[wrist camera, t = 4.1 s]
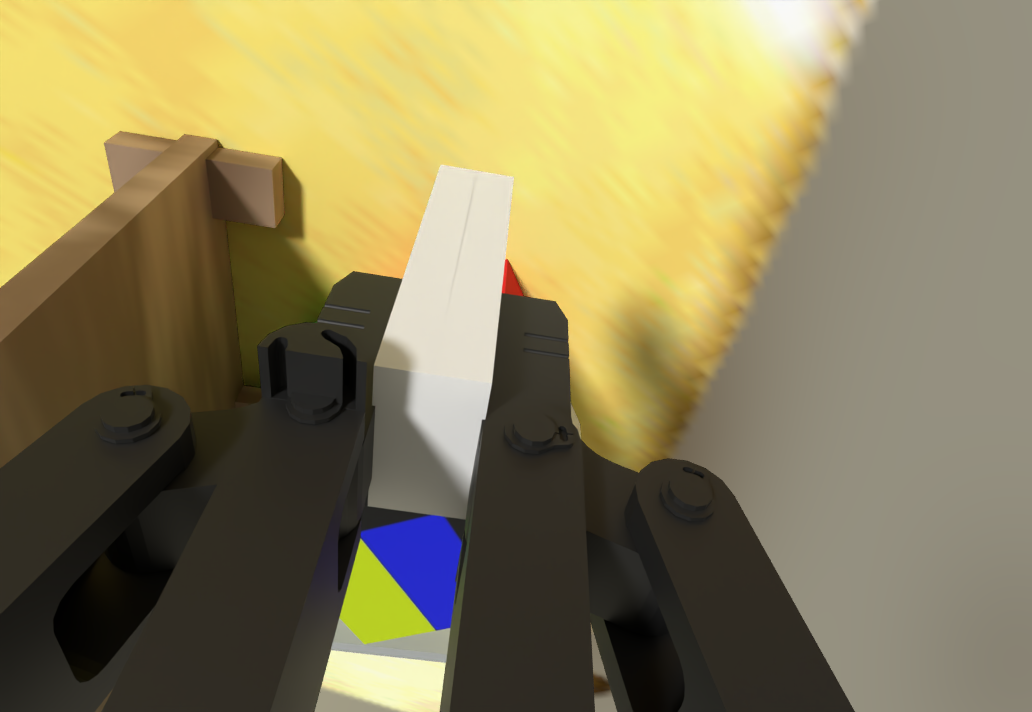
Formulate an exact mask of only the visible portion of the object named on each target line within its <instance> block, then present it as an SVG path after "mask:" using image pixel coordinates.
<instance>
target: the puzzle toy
mask: <svg viewBox="0 0 1032 712" xmlns="http://www.w3.org/2000/svg"><path fill="white" fill-rule="evenodd" d="M502 293H506V294H512V295H518V296H524V295H523V293H522V291H521V289H520V286H519V284H518V282H517V279H516V277H515V275H514V273H513V270H512V268H511V266H510V264H509V261H508V259H506V260H505V265H504V275H503V284H502ZM316 322H317V321H316ZM316 322H313V323H316ZM571 418H572V423H573V425H574V426H575V427H576V428H577V429H578V432H579V436H580V439H581V427H580V422H579V420H578V418H577V415H576V413H575V411H574V409H573V406H572V404H571ZM465 521H466V520H465V519H458V518H451V517H443V516H436V515H429V514H421V513H414V512H407V511H400V510H392V509H385V508H378V507H370V506H368V494H367V498H366V501H365V505H364V508H363V512H362V516H361V539H360V542H359V546H358V550H357V554H356V557H355V561H354V565H353V569H352V572H351V576H350V580H349V584H348V587H347V591H346V595H345V599H344V602H343V606H342V610H341V614H340V617H339V618H340V619H341V620H342V621H343V622H344V623H345V624H346V626H347V627H348V628H349V629H350V630H351V631H352V632H353V633H354V634H355V635H356V636H357V637H358V638H359V639H360V640H361V641H362V642H363V643H364V644H369V643H374V642H380V641H385V640H390V639H395V638H401V637H406V636H411V635H416V634H421V633H427V632H432V631H437V630H442V629H448V628H450V627H451V620H452V612H453V604H454V596H455V589H456V582H455V577H456V572H457V566H458V561H459V556H460V550H461V545H462V539H463V534H464V528H465Z"/></svg>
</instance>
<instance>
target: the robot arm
mask: <svg viewBox="0 0 1032 712" xmlns="http://www.w3.org/2000/svg"><path fill="white" fill-rule="evenodd" d="M513 180H514V177H511V176H505V175H499V174H493V173H487V172H482V171H476V170H470V169H464V168H458V167H452V166H447V165H440V168H439V171H438V174H437V177H436V180H435V183H434V186H433V189H432V192H431V195H430V198H429V201H428V204H427V207H426V210H425V213H424V216H423V219H422V222H421V225H420V228H419V231H418V234H417V237H416V240H415V243H414V246H413V249H412V252H411V255H410V258H409V261H408V264H407V267H406V270H405V273H404V276H403V279H399V278H393V277H386V276H380V275H374V274H368V273H361V272H355V271H353V272H352V273H350V274H349V275H348V276H346V277H345V278H343V279H342V280H340V281H339V282H338V283H336V284H335V285H334V286H333V288H332V290H331V292H330V294H329V296H328V298H327V300H326V302H325V307H323V309H322V311H321V313H320V315H319V317H318V321H317V322H316V323H307V322H305V323H300V324H295V325H290V326H285V327H283V328H281V329H279V330H277V331H275V332H272V333H270V334H268V335H267V336H266V337H265V338H264V340H263V341H262V342H261V343H260V344H259V345H258V346H257V348H258V360H259V371H260V382H261V393H262V398H261V400H260V401H259V402H257V403H254V404H251V405H248V406H245V407H239V408H233V409H226V410H215V411H203V412H191V409H190V407H189V406H188V404H187V403H186V401H185V399H184V398H183V396H181V395H179V394H177V393H175V392H173V391H172V390H170V389H168V388H164V387H158V386H152V385H135V386H123V387H120V388H116V389H113V390H110V391H106V392H103V393H100V394H98V395H97V396H95V397H93V398H92V399H90V400H88V401H86V402H85V403H83V404H81V405H80V406H79V407H77V408H76V409H75V410H74V411H72V412H71V413H70V414H69V415H67V416H66V417H65V418H64V419H62V420H61V421H60V422H58V423H57V424H56V425H55V426H53V427H52V428H51V429H50V430H48V431H47V432H46V433H45V434H43V435H42V436H41V437H39V438H38V439H37V440H36V441H34V442H33V443H32V444H31V445H29V446H28V447H27V448H26V449H24V450H23V451H22V452H20V453H19V454H18V455H17V456H15V457H14V458H13V459H12V460H10V461H9V462H8V463H6V464H5V465H4V466H3V467H1V468H0V712H95V711H96V710H97V708H98V707H99V706H100V705H101V703H102V702H103V701H104V699H105V698H106V697H107V696H108V694H109V693H110V692H111V691H112V692H111V694H110V696H109V698H108V700H107V702H106V703H105V705H104V707H103V709H102V711H101V712H314V711H315V707H316V703H317V700H318V696H319V692H320V689H321V685H322V681H323V677H324V674H325V670H326V666H327V662H328V659H329V655H330V651H331V647H332V644H333V640H334V636H335V632H336V629H337V625H338V621H339V617H340V614H341V610H342V606H343V602H344V599H345V595H346V591H347V587H348V584H349V580H350V576H351V572H352V569H353V565H354V561H355V557H356V554H357V550H358V546H359V542H360V539H361V516H362V512H363V508H364V505H365V501H366V498H367V494H368V506H370V507H378V508H385V509H392V510H400V511H407V512H414V513H421V514H429V515H436V516H443V517H451V518H458V519H465V520H466V521H465V528H464V534H463V539H462V545H461V550H460V556H459V561H458V566H457V572H456V577H455V582H456V589H455V596H454V604H453V612H452V620H451V627H450V635H449V643H448V651H447V659H446V666H445V674H444V682H443V690H442V697H441V705H440V712H595V706H594V705H595V704H594V684H593V663H592V644H591V625H592V628H593V632H594V635H595V638H596V642H597V645H598V648H599V652H600V655H601V659H602V662H603V665H604V669H605V672H606V675H607V679H608V682H609V685H610V689H611V692H612V695H613V698H614V702H615V705H616V709H617V712H855V711H854V709H853V708H852V706H851V704H850V702H849V700H848V699H847V697H846V695H845V693H844V692H843V690H842V688H841V686H840V685H839V683H838V681H837V679H836V677H835V675H834V674H833V672H832V670H831V668H830V666H829V665H828V663H827V661H826V659H825V658H824V656H823V654H822V652H821V650H820V649H819V647H818V645H817V643H816V641H815V640H814V638H813V636H812V634H811V633H810V631H809V629H808V627H807V625H806V623H805V622H804V620H803V618H802V616H801V615H800V613H799V611H798V609H797V607H796V605H795V604H794V602H793V600H792V598H791V596H790V595H789V593H788V591H787V589H786V588H785V586H784V584H783V582H782V581H781V579H780V577H779V575H778V573H777V572H776V570H775V568H774V566H773V564H772V563H771V561H770V559H769V557H768V555H767V554H766V552H765V550H764V548H763V546H762V545H761V543H760V541H759V539H758V537H757V536H756V534H755V532H754V530H753V528H752V527H751V525H750V523H749V521H748V519H747V518H746V516H745V514H744V512H743V510H742V509H741V507H740V505H739V503H738V501H737V500H736V498H735V496H734V495H733V494H732V492H731V491H730V490H729V488H728V487H727V486H726V485H725V483H724V482H723V481H722V480H721V479H720V478H718V477H717V476H716V475H714V474H713V473H711V472H710V471H708V470H707V469H706V468H704V467H701V466H698V465H696V464H693V463H691V462H689V461H685V460H677V459H663V460H659V461H654V462H651V463H650V464H648V465H647V466H646V467H645V468H643V469H642V470H641V471H640V473H637V472H635V471H632V470H630V469H627V468H625V467H622V466H620V465H618V464H615V463H613V462H611V461H609V460H607V459H605V458H603V457H601V456H599V455H598V454H596V453H595V452H594V451H592V450H591V449H590V448H588V447H587V446H586V444H585V443H584V442H583V441H582V440H581V439H580V436H579V432H578V429H577V428H576V427H575V426H574V425H573V423H572V418H571V396H570V369H569V359H568V358H569V343H568V320H567V318H566V317H565V315H564V314H563V312H562V311H561V309H560V308H559V306H558V305H557V303H556V302H555V301H550V300H543V299H537V298H531V297H525V296H518V295H512V294H506V293H502V284H503V275H504V265H505V256H506V246H507V237H508V228H509V218H510V209H511V199H512V190H513ZM112 689H113V690H112Z"/></svg>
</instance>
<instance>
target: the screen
mask: <svg viewBox="0 0 1032 712" xmlns="http://www.w3.org/2000/svg"><path fill="white" fill-rule="evenodd" d="M104 145H105V150H106V155H107V159H108V164H109V169H110V174H111V178H112V183H113V188H114V192H115V193H113V194H112V195H111V196H110V197H109V198H107V199H106V200H105V201H104V202H103V203H101V204H100V205H99V206H98V207H97V208H95V209H94V210H93V211H92V212H91V213H89V214H88V215H87V216H86V217H85V218H83V219H82V220H81V221H80V222H79V223H77V224H76V225H75V226H74V227H73V228H71V229H70V230H69V231H68V232H67V233H65V234H64V235H63V236H62V237H61V238H59V239H58V240H57V241H56V242H55V243H53V244H52V245H51V246H50V247H49V248H48V249H46V250H45V251H44V252H43V253H42V254H40V255H39V256H38V257H37V258H36V259H34V260H33V261H32V262H31V263H30V264H28V265H27V266H26V267H25V268H24V269H22V270H21V271H20V272H19V273H18V274H16V275H15V276H14V277H13V278H12V279H10V280H9V281H8V282H7V283H6V284H4V285H3V286H2V287H1V288H0V468H1V467H3V466H4V465H5V464H6V463H8V462H9V461H10V460H12V459H13V458H14V457H15V456H17V455H18V454H19V453H20V452H22V451H23V450H24V449H26V448H27V447H28V446H29V445H31V444H32V443H33V442H34V441H36V440H37V439H38V438H39V437H41V436H42V435H43V434H45V433H46V432H47V431H48V430H50V429H51V428H52V427H53V426H55V425H56V424H57V423H58V422H60V421H61V420H62V419H64V418H65V417H66V416H67V415H69V414H70V413H71V412H72V411H74V410H75V409H76V408H77V407H79V406H80V405H81V404H83V403H85V402H86V401H88V400H90V399H92V398H93V397H95V396H97V395H98V394H100V393H103V392H106V391H110V390H113V389H116V388H120V387H123V386H135V385H152V386H158V387H164V388H168V389H170V390H172V391H173V392H175V393H177V394H179V395H181V396H183V398H184V399H185V401H186V403H187V404H188V406H189V407H190V409H191V412H203V411H215V410H226V409H233V408H239V407H245V406H248V405H251V404H254V403H257V402H259V401H260V400H261V398H262V393H261V388H258V387H251V386H244V385H243V375H242V366H241V357H240V348H239V338H238V329H237V320H236V311H235V301H234V292H233V283H232V274H231V264H230V255H229V246H228V237H227V227H226V221H233V222H239V223H246V224H252V225H258V226H265V227H271V228H276V227H277V225H278V224H279V222H280V221H281V219H282V218H283V216H284V215H285V213H284V193H283V173H282V158H280V157H274V156H268V155H262V154H256V153H250V152H244V151H238V150H232V149H225V148H219V147H218V144H217V139H211V138H204V137H198V136H192V135H186V134H184V135H183V136H182V137H180V138H179V139H178V140H171V139H165V138H158V137H152V136H146V135H140V134H134V133H128V132H122V131H120V132H118V133H117V134H116V135H114V136H113V137H111V138H110V139H108V140H107V141H106V142H104ZM112 690H113V689H112ZM111 692H112V691H111ZM111 692H110V693H109V694H108V696H107V697H106V698H105V699H104V701H103V702H102V703H101V705H100V706H99V707H98V708H97V710H96V711H95V712H101V711H102V709H103V707H104V705H105V703H106V702H107V700H108V698H109V696H110V694H111Z"/></svg>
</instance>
